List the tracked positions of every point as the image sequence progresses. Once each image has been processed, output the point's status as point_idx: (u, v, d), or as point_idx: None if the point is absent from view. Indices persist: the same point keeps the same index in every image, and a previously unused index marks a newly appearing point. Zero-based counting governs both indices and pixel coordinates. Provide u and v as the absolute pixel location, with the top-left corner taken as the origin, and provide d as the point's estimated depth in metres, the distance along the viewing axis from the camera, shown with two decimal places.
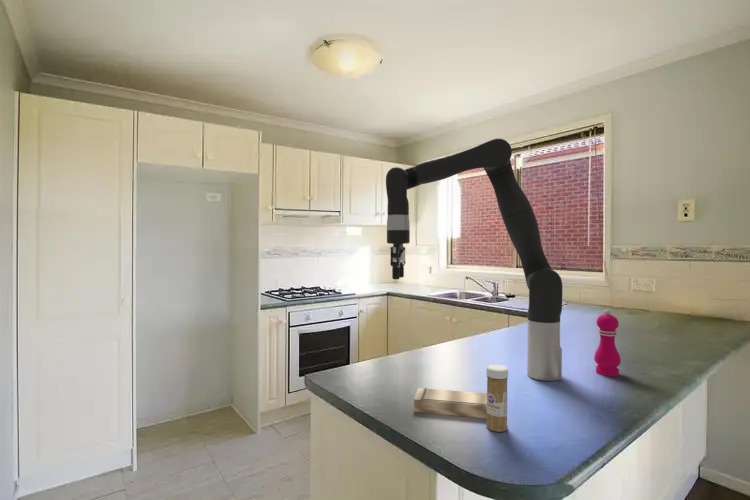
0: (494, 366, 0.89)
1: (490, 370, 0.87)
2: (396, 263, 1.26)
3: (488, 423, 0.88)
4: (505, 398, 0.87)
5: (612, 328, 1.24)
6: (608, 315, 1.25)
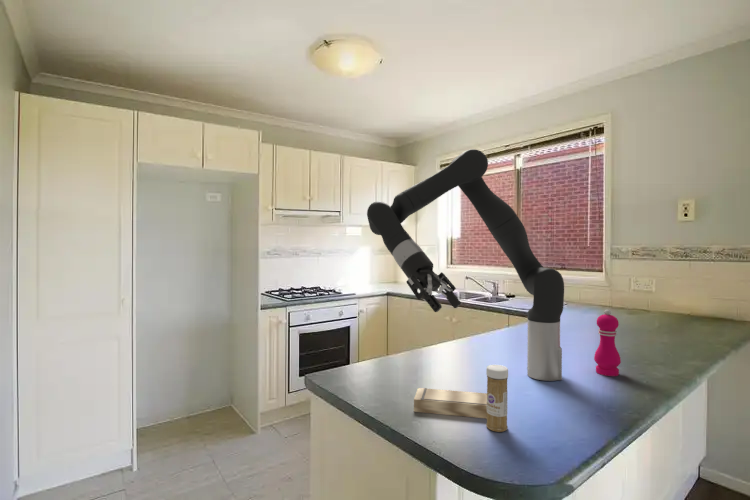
0: (494, 366, 0.89)
1: (490, 370, 0.87)
2: (421, 292, 0.97)
3: (488, 423, 0.88)
4: (505, 398, 0.87)
5: (612, 328, 1.24)
6: (608, 315, 1.25)
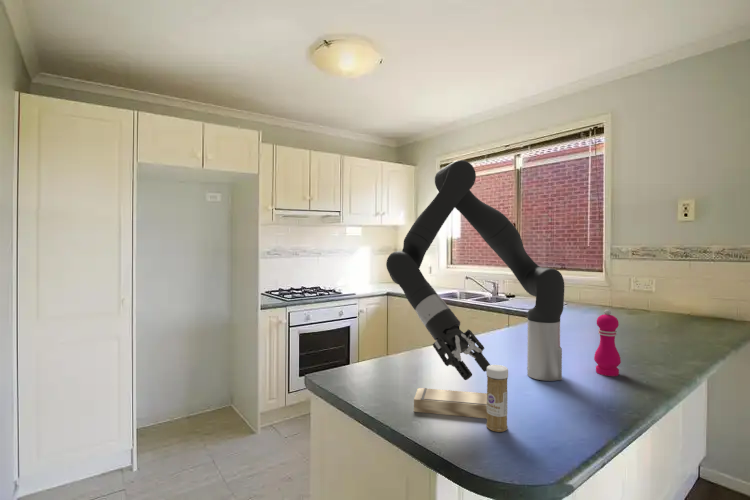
0: (494, 366, 0.89)
1: (490, 370, 0.87)
2: (449, 358, 0.89)
3: (488, 423, 0.88)
4: (505, 398, 0.87)
5: (612, 328, 1.24)
6: (608, 315, 1.25)
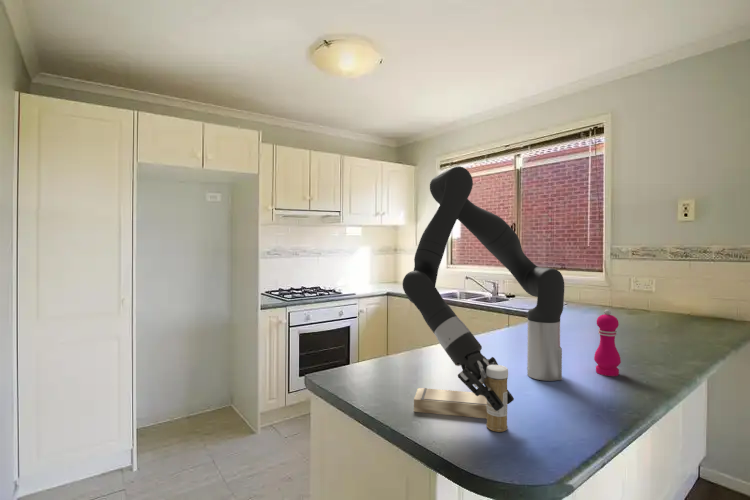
0: (494, 366, 0.89)
1: (490, 370, 0.87)
2: (480, 388, 0.86)
3: (488, 423, 0.88)
4: (505, 398, 0.87)
5: (612, 328, 1.24)
6: (608, 315, 1.25)
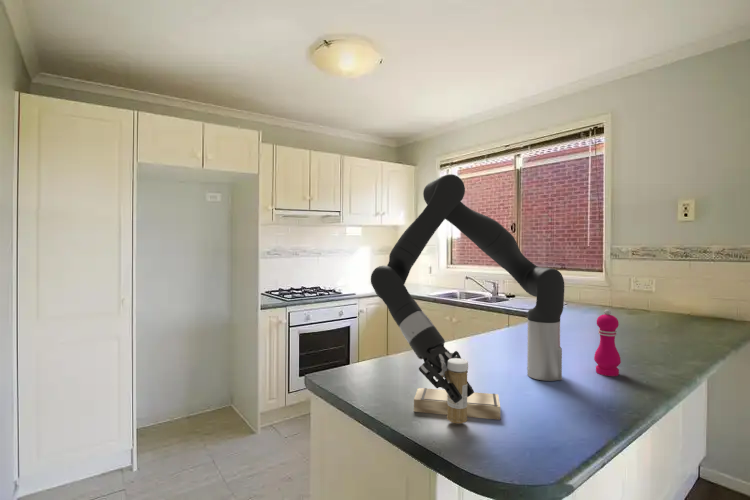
0: (455, 359, 0.91)
1: (450, 363, 0.89)
2: (439, 381, 0.87)
3: (448, 415, 0.90)
4: (464, 390, 0.89)
5: (612, 328, 1.24)
6: (608, 315, 1.25)
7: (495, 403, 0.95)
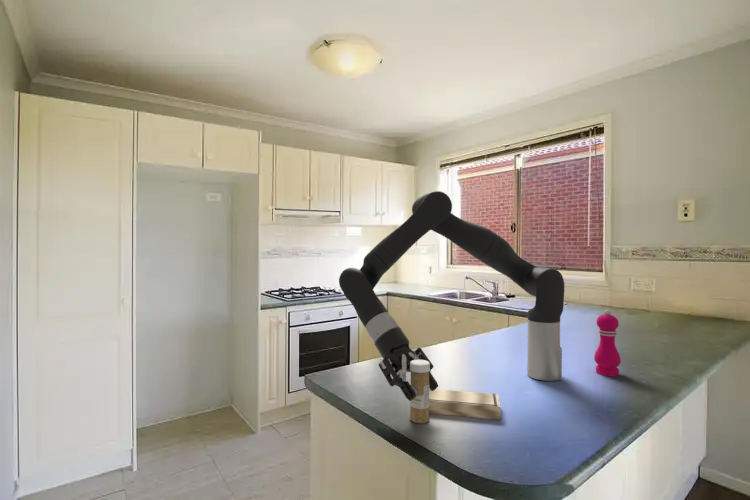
0: (417, 361, 0.93)
1: (412, 365, 0.91)
2: (394, 379, 0.89)
3: (411, 415, 0.92)
4: (426, 391, 0.91)
5: (612, 328, 1.24)
6: (608, 315, 1.25)
7: (495, 403, 0.95)
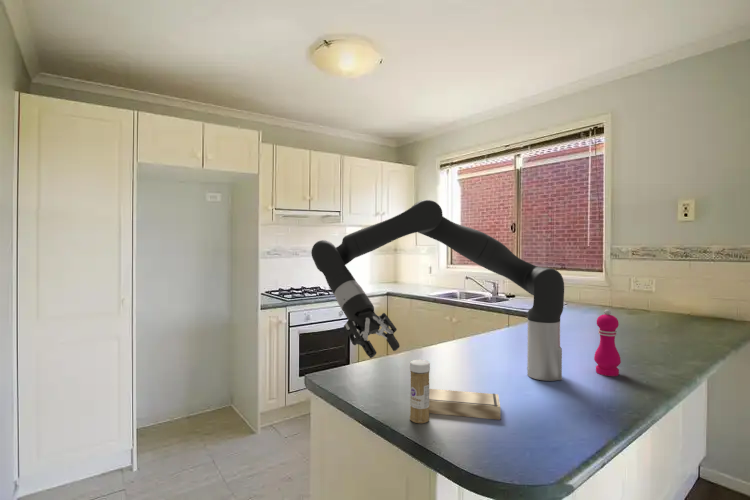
0: (417, 361, 0.93)
1: (412, 365, 0.91)
2: (356, 338, 0.97)
3: (411, 415, 0.92)
4: (426, 391, 0.91)
5: (612, 328, 1.24)
6: (608, 315, 1.25)
7: (495, 403, 0.95)
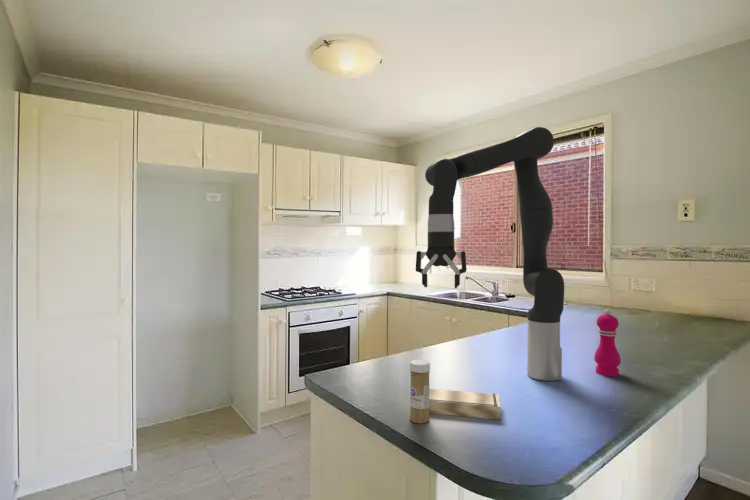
0: (417, 361, 0.93)
1: (412, 365, 0.91)
2: None
3: (411, 415, 0.92)
4: (426, 391, 0.91)
5: (612, 328, 1.24)
6: (608, 315, 1.25)
7: (495, 403, 0.95)
